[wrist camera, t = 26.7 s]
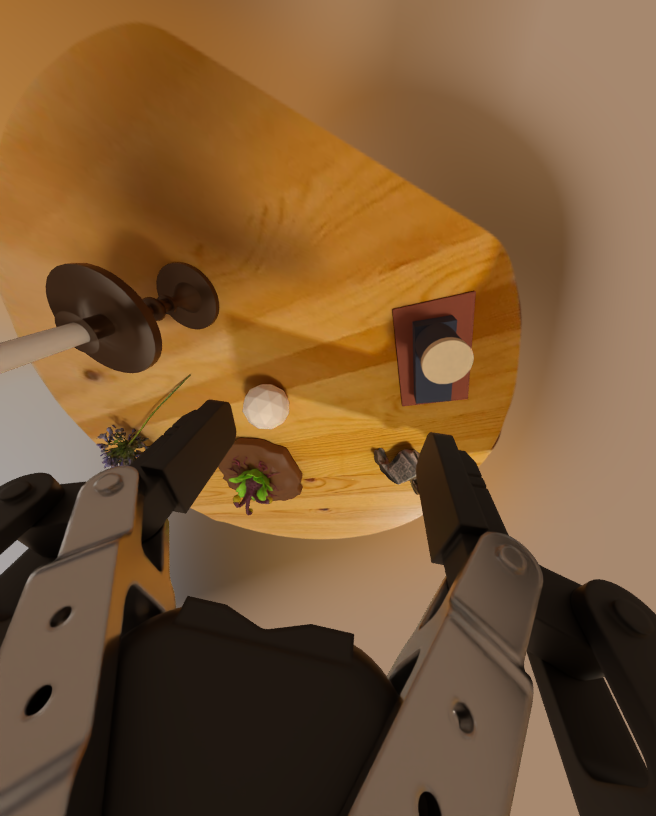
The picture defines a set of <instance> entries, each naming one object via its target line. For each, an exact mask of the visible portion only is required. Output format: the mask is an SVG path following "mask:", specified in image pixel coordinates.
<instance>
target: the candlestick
mask: <svg viewBox="0 0 656 816" xmlns="http://www.w3.org/2000/svg"><path fill="white" fill-rule="evenodd" d="M156 282H157V292H158V295H159V297H158V298H157V299H155V298H152V297H146V298H144V299H143V300H142V299H141V297H140V296H139V295H138V294H137V293H136V292H135V291H134V290H133V289H132V288H131V287H130V286H129V285H127V284H126V283H125V282H124V281H123V280H122V279H120V278H119V277H117V276H116V275H114V274H113V273H111V272H109V271H107V270H105V269H103V268H101V267H99V266H95V265H92V264H88V263H70V264H63V265H60V266H57V267H55V268H54V269H53V270H51V272H50V273H49V275H48V277H47V281H46V295H47V299H48V302H49V306H50V308H51V310H52V312H53V315H54V317H55V324H56V327H55V328H52V329H48V330H45V331H41V332H37V333H34V334H30V335H27V336H23V337H19V338H16V339H13V340H9V341H5V342H2V343H0V374H1V373H4V372H7V371H9V370H12V369H15V368H18V367H20V366H23V365H26V364H29V363H31V362H34V361H37V360H40V359H42V358H45V357H48V356H51V355H54V354H56V353H59V352H62V351H65V350H67V349H70V348H73V347H75V348H76V349H78V350H80V351H82V352H84V353H86V354H87V355H89V356H90V357H91V358H93V359H94V360H96V361H97V362H99V363H101V364H103V365H104V366H106V367H109V368H111V369H114V370H117V371H120V372H125V373H138V372H141V371H144V370H146V369H148V368H149V367H151V366H153V365H154V364H155V363H156V362H157V361H158V359H159V358H160V355H161V351H162V339H161V334H160V330H159V328H158V325H157V322H156V321H160V320H162V319H163V318H164V317H165V315H166V314H169V315H171V317H172V318H174V319H175V320H176V321H177V322H179V323H180V324H182V325H183V326H186V327H188V328H191V329H203V328H206V327H208V326H210V325H211V324H212V323H214V322H215V320H216V319H217V316H218V314H219V301H218V296H217V293H216V291H215V289H214V287H213V285H212V283H211V282H210V281H209V279H208V278H207V277H206V276H205V275H204V274H203V273H202V272H201V271H200V270H198V269H197V268H195V267H193V266H191V265H189V264H186V263H171V264H167V265H166V266H164V267H163V268H162V269H161V270H160V271H159V274H158V276H157V281H156Z"/></svg>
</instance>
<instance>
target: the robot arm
mask: <svg viewBox="0 0 656 816" xmlns="http://www.w3.org/2000/svg"><path fill="white" fill-rule="evenodd" d="M235 439H236V427H235V423H234V418H233V414H232V409H231V405H230V404H229V403H228V402H224V401H217V400H207V401H206V402H205V403H204V404H203V405H202V406H201V407H200V408H199V409H198V410H193V411H191V412H190V413H188V414H186V415H184V416H182V417H181V418H180V419H179V420H178V421H177V422H175V423H174V424H173V425H172V428H171V427H170V428H169V429H168V430H167V431H166V432H165V433H164V435H161V436H160V437H159V438H158V439H157V440H156V441H155V442H154V443H153V444H152V445H151V446H150V447H149V448H147V449H146V450H145V451H144V452H143V453H142V454H141V455H140V456H139V457H138V458H137V459H136V460H134V461H133V462H132V463H131V464H130V465H129V466H117V467H113V468H110V469H107V470H105V471H103V472H100V473H98V474H97V475H95V476H93V477H92V478H91V479H89V480H88V481H87V482H79V483H68V484H59V483H58V482H57V481H56V480H55V479H54V478H53V477H52V476H51V475H50V474H47V473H34V474H29V475H25V476H22V477H19V478H16V479H14V480H11V481H9V482H7V483H6V484H4V485H2V486H0V554H2V553H3V552H4V551H5V550H6V549H7V548H8V547H9V546H11V545H12V544H13V543H14V542H15V541H16V540H18V541H20V542H21V543H23V544H24V545H26V546H27V547H28V548H29V549H28V550H26V551H25V552H24V553H23V554H22V555H21V556H20V557H19V558H18V559H17V560H16V561H15V562H14V563H13V564H12V565H11V566H10V567H8V568H7V569H6V570H5V571H4V572H3V573H2V574H1V575H0V816H510V811H511V806H512V801H513V796H514V792H515V787H516V782H517V777H518V772H519V767H520V762H521V757H522V752H523V747H524V742H525V737H526V732H527V727H528V722H529V718H530V713H531V707H532V702H533V683H532V680H531V677H530V676H529V675H528V674H527V673H526V672H525V669H524V660H525V655H526V651H527V654H528V657H529V660H530V664H531V667H532V670H533V673H534V676H535V679H536V682H537V685H538V688H539V691H540V694H541V697H542V701H543V704H544V707H545V710H546V713H547V716H548V719H549V722H550V725H551V728H552V731H553V734H554V738H555V741H556V744H557V747H558V750H559V753H560V756H561V759H562V762H563V765H564V768H565V771H566V774H567V778H568V781H569V784H570V787H571V790H572V793H573V796H574V799H575V802H576V805H577V809H578V812H579V815H580V816H656V614H655V613H654V612H653V611H652V610H651V609H650V608H649V607H648V606H647V605H645V604H644V603H643V602H642V601H641V600H639V599H638V598H637V597H635V596H634V595H633V594H632V593H630V592H629V591H627V590H625V589H624V588H622V587H620V586H618V585H616V584H614V583H612V582H608V581H605V580H600V579H598V580H592V581H589V582H588V583H586V584H584V585H580V584H578V583H576V582H574V581H572V580H569V579H567V578H565V577H563V576H561V575H559V574H557V573H555V572H553V571H550V570H548V569H546V568H544V567H542V566H541V565H539V564H538V562H537V561H536V559H535V558H534V556H533V555H532V554H531V553H530V552H529V551H528V549H527V548H525V547H524V546H523V545H522V544H521V543H520V542H518V541H517V540H515V539H514V538H512V537H510V536H509V535H508V533H507V531H506V529H505V526H504V524H503V522H502V520H501V518H500V515H499V513H498V511H497V509H496V507H495V504H494V502H493V500H492V498H491V495H490V493H489V491H488V489H486V484H485V482H484V480H483V478H481V476H482V475H481V473H480V471H479V469H478V466H477V464H476V462H475V461H474V460H473V459H472V458H471V457H470V456H469V455H468V454H467V453H466V452H465V451H461V450H458V448H457V446H456V443H455V440H454V438H453V436H451V435H446V434H439V433H432V432H430V433H429V434H428V435H427V438H426V440H425V443H424V445H423V447H422V450H421V452H420V455H419V457H418V460H417V464H416V477H417V483H418V488H419V494H420V500H421V505H422V511H423V516H424V522H425V528H426V534H427V540H428V545H429V551H430V556H431V562H432V563H436V564H441V565H444V567H445V573H446V576H445V578H444V579H443V581H442V583H441V585H440V586H439V589H438V590H437V592H436V594H435V595H434V597H433V599H432V601H431V603H430V604H429V606H428V608H427V610H426V612H425V613H424V615H423V617H422V619H421V621H420V623H419V624H418V626H417V628H416V630H415V631H414V633H413V634H412V636H411V637H410V639H409V640H408V642H407V643H406V644H405V646H404V647H403V649H402V651H401V653H400V654H399V656H398V657H397V659H396V661H395V663H394V665H393V666H392V668H391V670H390V671H389V673H388V675H387V676H386V675H385V674H384V673H383V671H382V670H381V668H380V667H379V666H378V665H377V664H376V663H375V662H374V661H373V660H372V658H370V657H369V656H368V655H367V654H366V653H365V652H363V651H362V650H361V649H359V648H358V647H356V646H355V645H354V644H353V643H354V634H352V633H348V632H343V631H338V630H334V629H330V628H326V627H321V626H317V625H313V624H309V625H300V626H292V627H284V628H275V629H262V628H260V627H259V626H257V625H256V624H254V623H253V622H251V621H250V620H248V619H247V618H245V617H244V616H242V615H241V614H239V613H238V612H236V611H235V610H233V609H232V608H230V607H229V606H228V605H225V604H221V603H216V602H212V601H208V600H203V599H199V598H195V597H190V596H188V597H187V598H186V600H185V602H184V604H183V606H182V607H180V608H176V601H175V594H174V590H173V587H172V584H171V580H170V573H169V572H170V571H169V521H168V519H167V518H168V517H169V516H170V514H171V513H172V511H175V512H181V513H187V511H188V510H189V508H190V507H191V505H192V504H193V502H194V501H195V499H196V498H197V497H198V495H199V494H200V492H201V491H202V489H203V488H204V486H205V485H206V483H207V482H208V480H209V479H210V478H211V476H212V475H213V473H214V472H215V470H216V469H217V467H218V466H219V464H220V463H221V461H222V460H223V459H224V457H225V456H226V454H227V453H228V451H229V450H230V448H231V447H232V445H233V444H234V442H235ZM603 677H605V678H606V680H607V682H608V684H609V686H610V688H611V690H612V692H613V694H614V696H615V698H616V700H617V703H618V705H619V706H620V709H621V711H622V712H623V715H624V717H625V719H626V721H627V723H628V725H629V727H630V729H631V731H632V733H633V735H634V738H635V740H636V742H637V744H638V746H639V748H640V750H641V752H642V754H643V757H644V759H645V762H646V765H647V768H646V766H645V763H644V761H643V759H642V757H641V755H640V753H639V751H638V749H637V747H636V745H635V743H634V741H633V738H632V737H631V734H630V732H629V730H628V728H627V726H626V724H625V722H624V720H623V718H622V716H621V714H620V712H619V709H618V707H617V705H616V703H615V701H614V699H613V697H612V695H611V693H610V690H609V688H608V686H607V684H606V682H605V680H604V678H603ZM647 769H648V770H647Z"/></svg>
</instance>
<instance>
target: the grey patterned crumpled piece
mask: <svg viewBox="0 0 656 816" xmlns="http://www.w3.org/2000/svg"><path fill="white" fill-rule="evenodd" d="M419 455H420V454H419V453H418V452H417V451H416V450H413V451H411V450H407V449H405V450H403V451H400V452H399V453H398V454H397V456H396V457H395V458H394V460H392V462H390V463H389V462H388V458H387V457H386V454H385V451H384V450H383V449H382V448H379V449H378V450H374V460H375V462H376V463H377V464H378V465H379V466H380V470H381V471H382V472H383V473H384V474H385V475H386V476H387V477H388V478H389V479H390V480H391V481H392V482H394V483H396V484H401V483H404V482H406V481H408V480H409V481H410V482H411V485H412V487H413V490H414V492H415V493H416V494H417V495H419V488H418V483H417V477H416V464H417V460H418V457H419ZM411 480H412V481H411ZM414 483H415V484H414Z"/></svg>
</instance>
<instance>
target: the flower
mask: <svg viewBox="0 0 656 816" xmlns="http://www.w3.org/2000/svg"><path fill="white" fill-rule="evenodd" d="M189 376H190V375H189ZM189 376H188V377H189ZM188 377H187V378H188ZM187 378H186V379H187ZM186 379H185V380H186ZM185 380H184V381H185ZM184 381H183V382H184ZM183 382H182V383H181V384H180V385H179V386H178V387H177V388H176V389H175V390H174V391H173V392H171V393H170V394H169V396H168V397H167V398H166V399H165V400H164V401H163V402H162V403H161V404H160V405H159V406H158V407H157V408H156V410H155V411H154V412H153V413H152V414H151V415H150V416H149V418H148V419H147V420H146V422H145V423H144V424H143V426H142V427H141V429H140V430H139V431H138V433H137V434H136V435H135V434H134V435H135V436H134V435H133V436H134V438H133V439H131V437H133V436H132V434H133V433H134V432H135V431H136V430H135V429H133V430H132V434H130V435H129V437H128V440H129V442H128V440H126V439H125V438H124V439H125V441H124V440H123V437H122V435H124V436H125V435H126V433H125V432H124V433H121V434H118V432H119V431H121V432H122V431H124V429H123V428H121V429H116V430H115V432H116V433H117V434H116V433H115V434H113V431H112V429H111V427H110V428H109V427H108V428H107V431H108V432H109V437H108V438H109V441H108V439H107V436H106V433H105V434H100V436H98V438H99V439H100V438H103V439H105V441H106V442H107V443H108V445H115V444H113V443H118V444H116V445H118V447H116V448H111V449H109V450H110V451H111V452H110V451H109V450H105V448H107V447H108V445H106V444H97V446H100V447H99V448H100V449H102V448H104V449H103V450H101V452H105V451H108V452H106V453H103V454H102V455H105V456H106V457H104V458H105V459H104V458H103V459H104V461H103V462H102V463H103V464H104V463H106V464H105V466H104V468H106V467H109V466H111V468H113V467H117V466H118V463H119V464H120V466H129V465H130V464H131V463H132V462H133V461H134V460H136V458H135V457H138V456H140V455H141V454H142V453H143V452H141V451H139V450H136V452H135V451H134V450H135V449H136V448H143V447H145V448H146V449H147V448H149V447H150V446H145V444H144V443H143V441H146V440H147V439H148V438H147V439H146V438H143V439H141V438H140V437H141V436H138V434H139V433H140V431H141V430H142V429H143V427H144V426H145V424H146V423H147V421H148V420H149V419H150V418H151V416H152V415H153V414H154V413H155V412H156V411H157V409H158V408H159V407H160V406H161V405H162V404H163V403H164V402H165V401H166V400H167V399H168V398H169V397H170V396H171V395H172V394H173V393H174V392H175V391H176V390H177V389H178V388H179V387H180V386H181V385H182V384H183ZM112 426H113V427H115V426H114V425H112ZM115 428H116V427H115ZM112 434H113V435H112ZM115 435H116V436H115ZM117 435H119V436H120V435H121V436H120V437H117ZM113 436H114V437H115V438H116V439H117V438H118V440H119V439H120V440H123V442H121V441H120V442H118V440H114V439H113ZM130 436H131V437H130ZM111 440H113V441H114V442H113V443H110V442H112V441H111ZM137 446H138V447H137ZM102 455H101V456H102ZM108 457H110V458H108Z"/></svg>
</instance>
